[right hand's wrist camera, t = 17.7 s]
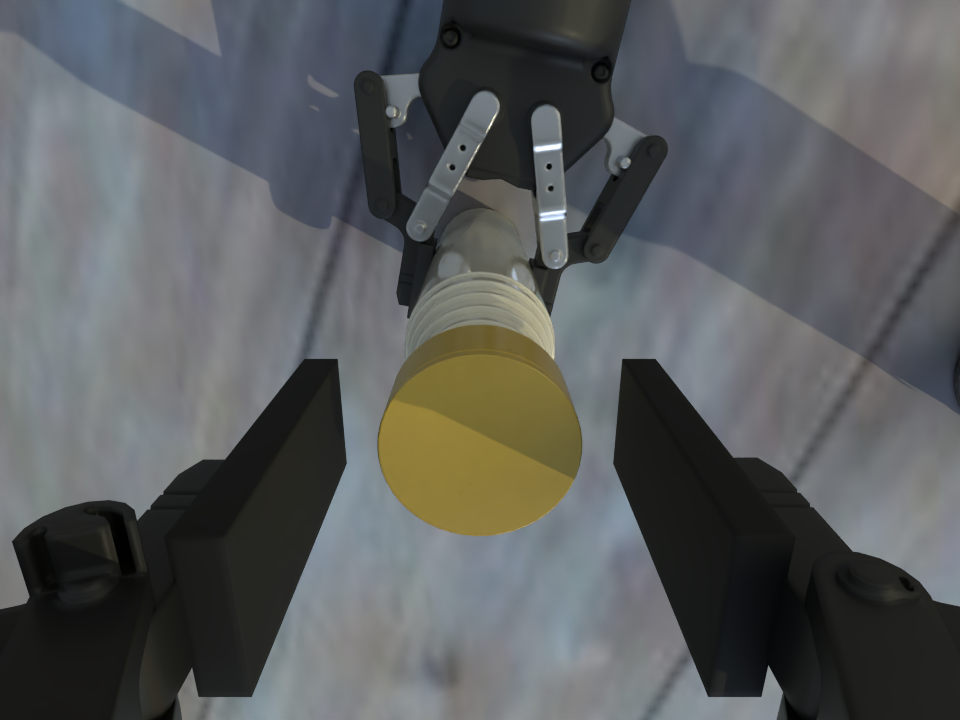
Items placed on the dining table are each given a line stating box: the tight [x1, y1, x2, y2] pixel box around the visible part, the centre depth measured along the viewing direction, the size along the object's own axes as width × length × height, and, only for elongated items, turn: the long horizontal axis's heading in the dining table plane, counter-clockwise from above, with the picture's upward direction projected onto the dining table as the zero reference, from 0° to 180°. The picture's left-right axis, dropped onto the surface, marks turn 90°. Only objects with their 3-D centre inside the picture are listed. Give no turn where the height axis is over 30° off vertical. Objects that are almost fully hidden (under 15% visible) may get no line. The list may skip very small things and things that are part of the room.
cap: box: [378, 325, 582, 536], centre depth 13 cm, size 4×4×2 cm
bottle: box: [405, 208, 555, 360], centre depth 24 cm, size 5×5×23 cm
